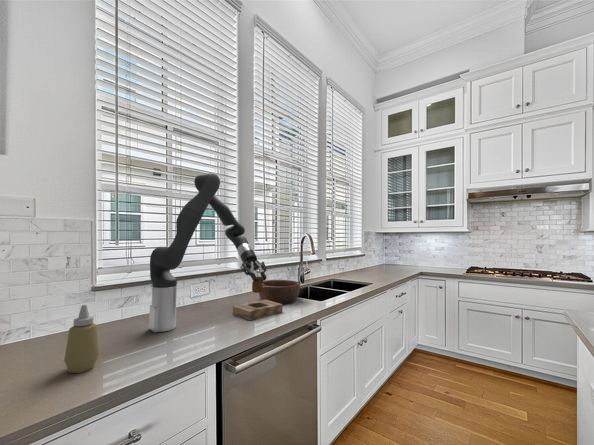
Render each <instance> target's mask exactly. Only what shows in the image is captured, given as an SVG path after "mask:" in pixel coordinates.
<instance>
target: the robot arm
mask: <svg viewBox="0 0 594 445" xmlns="http://www.w3.org/2000/svg"><path fill="white" fill-rule="evenodd" d="M193 182H194V186H195V189H196V190H197V192H198V193H197V194H196V195H195V196H194V197H192V198H191V199H190V200H189V201H188V202H187V203H186V204H184V206H183V207H182V209H181V210H180V212H179V214H178V215H177V217H176V220H175V223H176V224H175V227H176V232H175V236H174V239H173V240H172V243H171V244H170V245H169V246H159V247H158V246H157V247H155V248H154V249H153V250H152V252H151V254H150V257H149V273H150V274H149V276H150V277H149V278H150V281H151V285H152V287H151V304H150V305H149V317H148V318H149V321H148V327H149V328H148V329H149V330H150V331H152V332H153V333H158V332H159V333H161V332H167V331H172V330H174V329H175V328H176V327H177V326H176V325H177V296H178V295H177V294H178V290H177V289H178V288H177V287H178V279H177V278H176V277H175V276H174V275H172V273H171V271H172V270H173V271H174V270H175V269H177V268H178V267H179V266H180V264H181V263H182V261H183V259H184V256H185V254H186V251H187V248H188V247H189V243H190V241H191V239H192V237H193V235H194V233H195V231H196V230H197V227H198V226H199V224H200V222H201V220H202V218H203V216H204V214H205V211H206V210H207V208H208V206H209V205H210V207H211V208H212V209H213V211H214V213H216V216H217V217H218V218H219V220H220V222H221V223H222V225H223V226H225V227H227V228H226V229H225V231H224V234H225V236H226V238H228V239H229V241H231V243H232V244H233V245H234V247H235V248H236V251H237V253H238V256H239V259H241V261H242V263H241V265H240V267H239V268H240V269H241V271H242V272H243V273H244V275H246V276H249V277H250V278H251V279H252V282H253V281H254V282H256V281H257V277H258V276H257V274H256V272H255V271H256V268H258V271H259V273H258V274H259V276H260V275H261V277H263V278H264V280H263V281H266V279H267V278H268V277H267V275H266V272H267V268H266V264H265V261H261V262H260V261H258V258H257V255H256V253H255V251H254V249H253V248H252V246H251V245H250V243H249V241H248V239H247V237H245V236H243V235H244V234H245V232H246V230H245V227H244V225H243V224H242V223H241V222H239V221H238V219H236V218H235V216H234V214H233V212H232V211H231V209H230V207H229V206H228V205H227V204H226V203H224V202H223V201H222V200H221V199H220V198H218V197H217V195H216V194H217V192H218V191H219V189H220V186H221V178H220V176H219V174H217V173H215V172H209V173H206V172H205V173H200V174H198V175H196V176H195V178H194V180H193ZM228 226H229V227H228ZM260 271H261V272H260ZM254 272H255V273H254Z"/></svg>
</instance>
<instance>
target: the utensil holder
mask: <svg viewBox="0 0 594 445" xmlns="http://www.w3.org/2000/svg"><path fill="white" fill-rule="evenodd" d="M258 269H259V268H256V270H255V274H256V277H257V281H256V282H254V281H253V280H252V282H251V291H252V293H258V294H259V293H261V292H264V281H265V280H264V278H263V277H261V275H260V273H259V271H258ZM260 272H261V270H260ZM263 280H264V281H263Z"/></svg>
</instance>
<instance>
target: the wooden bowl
mask: <svg viewBox="0 0 594 445" xmlns="http://www.w3.org/2000/svg"><path fill="white" fill-rule="evenodd" d="M300 287H301V283H300V282H299V281H296V280H292V279H291V280H289V279H269V280H264V292H261V293H258V296H259V298H260V300H269V301H272V302H276V303H280V304H283V305H285V304H286V305H287V304H291V303H294V302H295V301H296V300H297V299H298V297H299V294H300V290H301V289H300Z"/></svg>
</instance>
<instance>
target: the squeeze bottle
mask: <svg viewBox="0 0 594 445" xmlns="http://www.w3.org/2000/svg"><path fill="white" fill-rule="evenodd" d="M98 337H99V336H98V324H96V323H94V316H92V315H90V314H89V309H88V306H87V304H82V305H81V307H80V310H79V313H78V317H75V318H73V325H72V326H71V327H70V328H69V330H68V335H67V341H66V348H65V354H64V364H65V366H66V368H67V371H68V372H69V373H72V374H79V373H84V372H86V371H89V370H91V369H93V368H94V367H95V364H96V363H97V359H98V357H99V355H100V350H99V338H98Z"/></svg>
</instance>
